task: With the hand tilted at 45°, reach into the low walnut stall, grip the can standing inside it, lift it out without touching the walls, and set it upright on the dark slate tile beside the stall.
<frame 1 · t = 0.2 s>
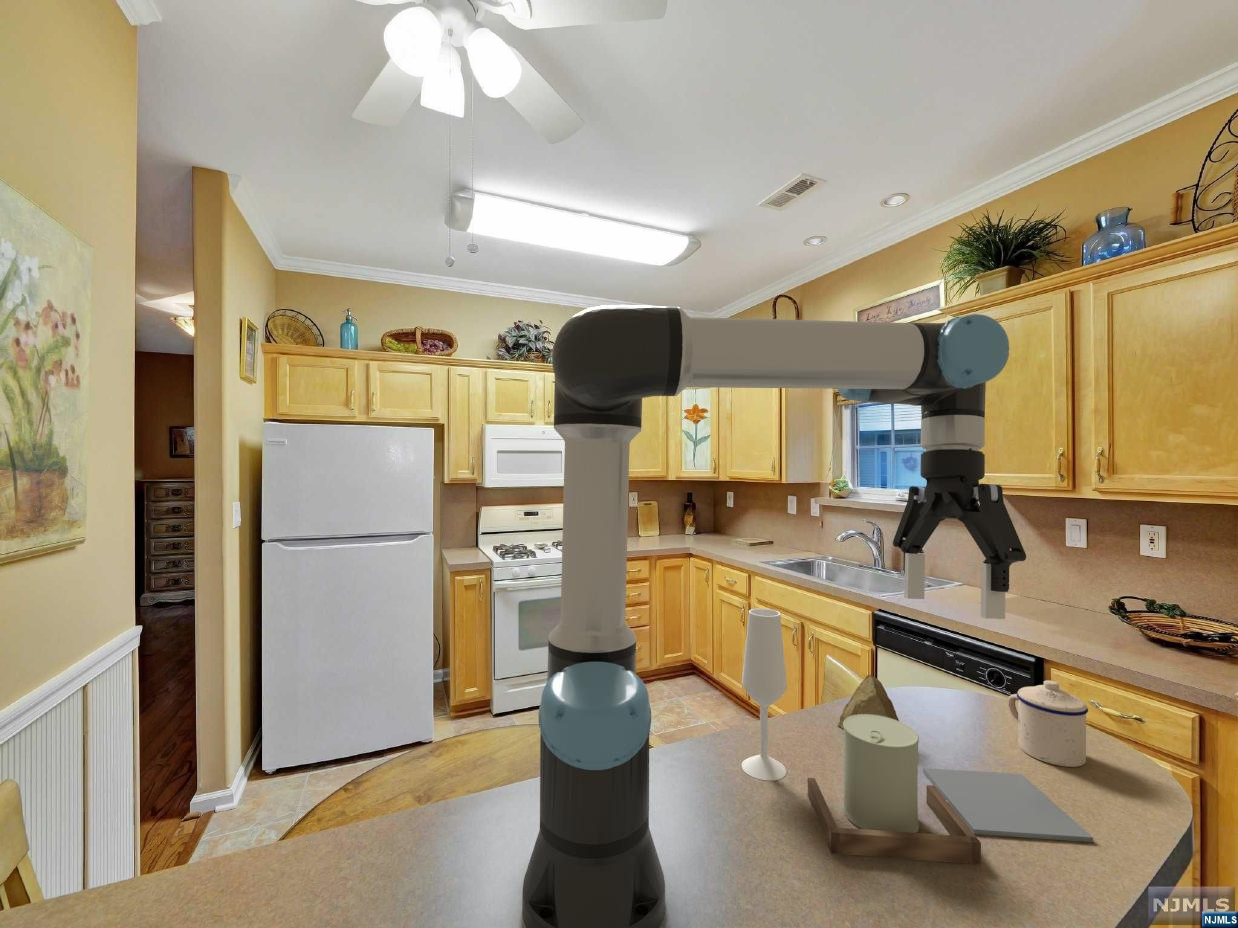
hand: (950, 607, 73), 28 cm above the kitchen counter, tool pointing down, fingers open, 13 cm apart
slate tile: (999, 803, 75), on the kitchen counter
walnut stall: (879, 815, 72), on the kitchen counter
champagne flute: (763, 769, 84), on the kitchen counter
can: (879, 817, 72), on the kitchen counter
rock: (870, 740, 93), on the kitchen counter
teacup with lid: (1042, 750, 90), on the kitchen counter
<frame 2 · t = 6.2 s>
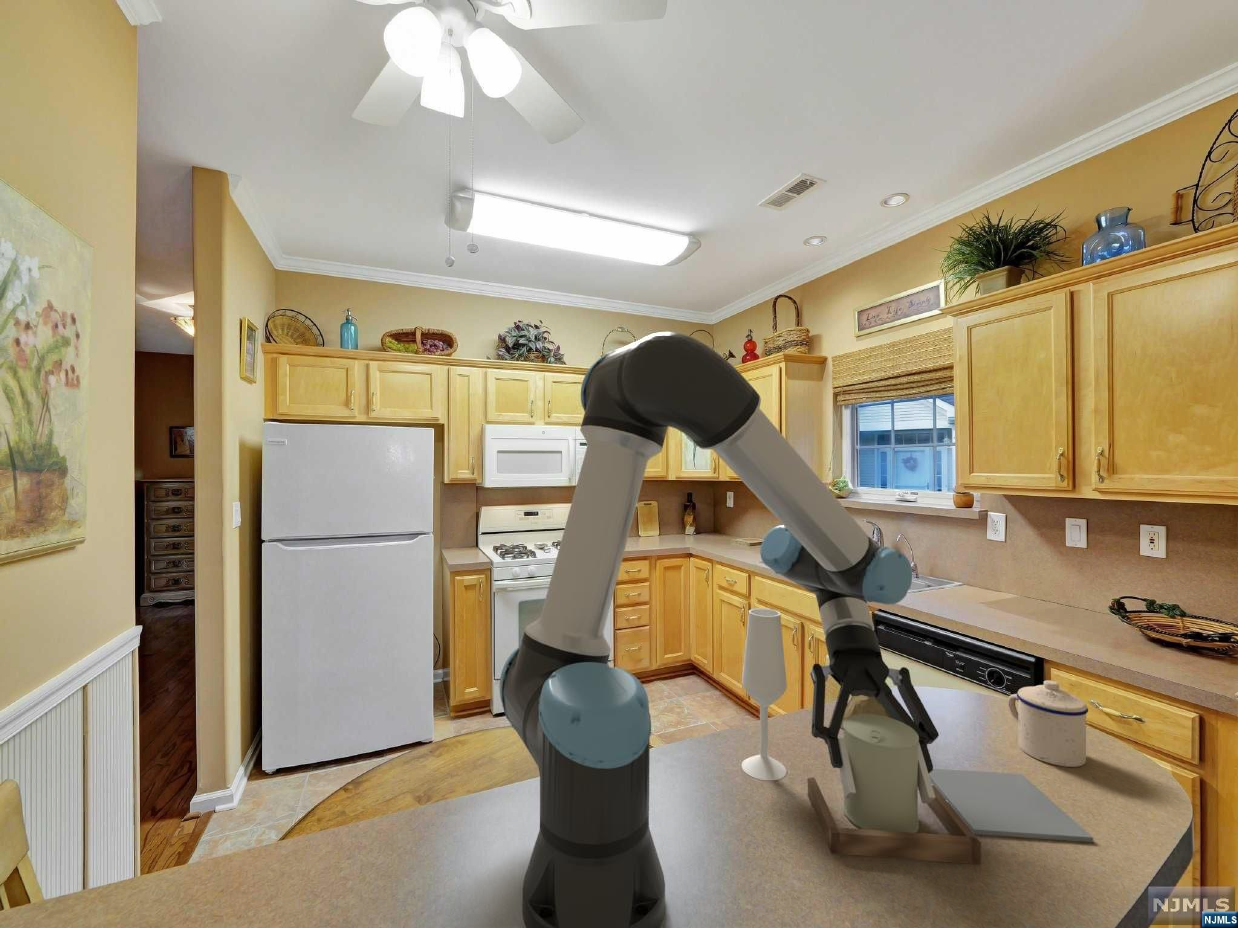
hand: (889, 797, 69), 4 cm above the kitchen counter, tool tilted 45°, fingers closed on can, 9 cm apart
can: (879, 816, 72), on the kitchen counter, touching gripper
everything else where it was.
when the fingers open (6 cm above the kitchen counter, at t = 12.3 s): can drops 1 cm, resting on slate tile.
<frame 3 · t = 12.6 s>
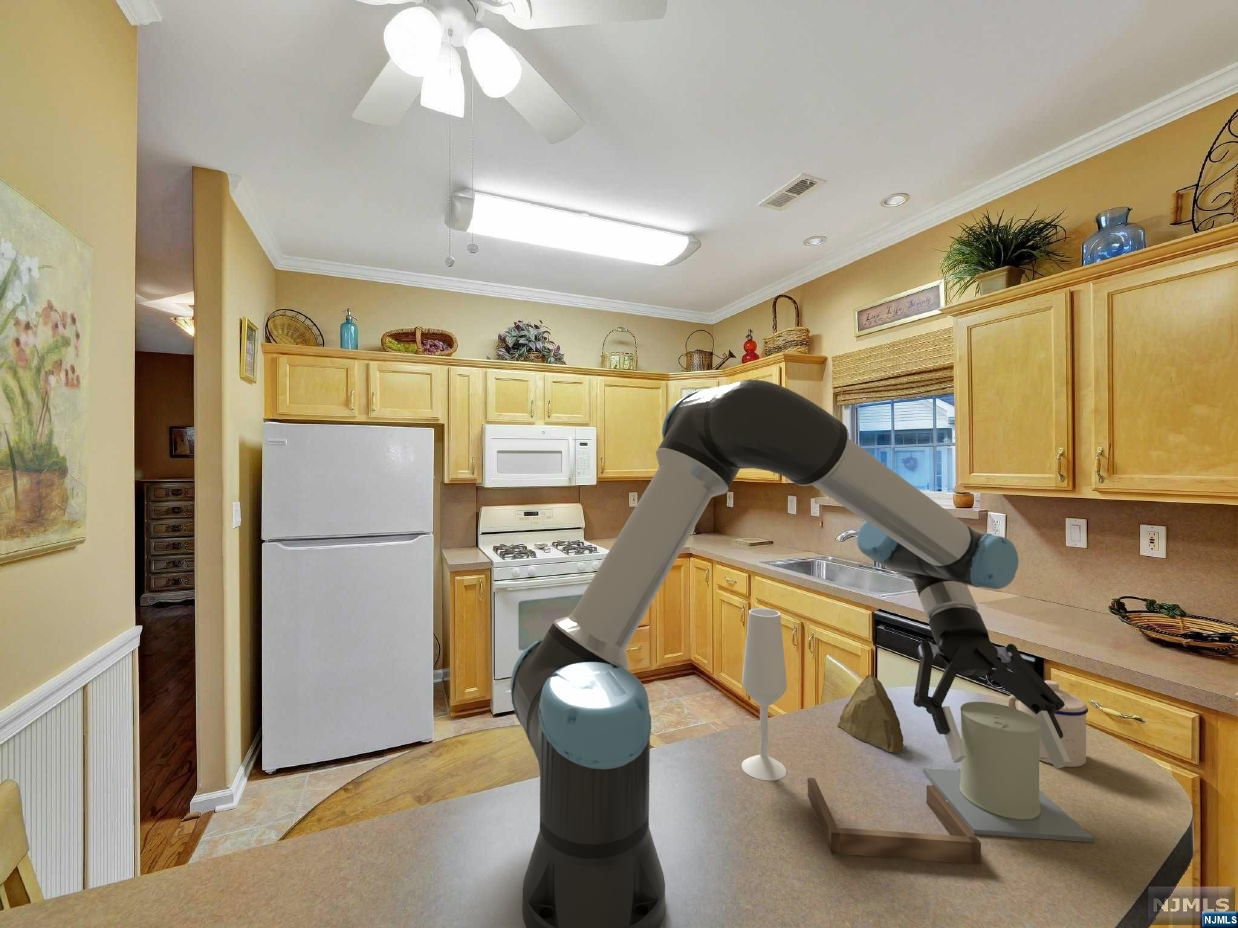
hand: (1010, 762, 73), 7 cm above the kitchen counter, tool tilted 45°, fingers open, 12 cm apart
can: (998, 800, 75), resting on slate tile
everything else where it was.
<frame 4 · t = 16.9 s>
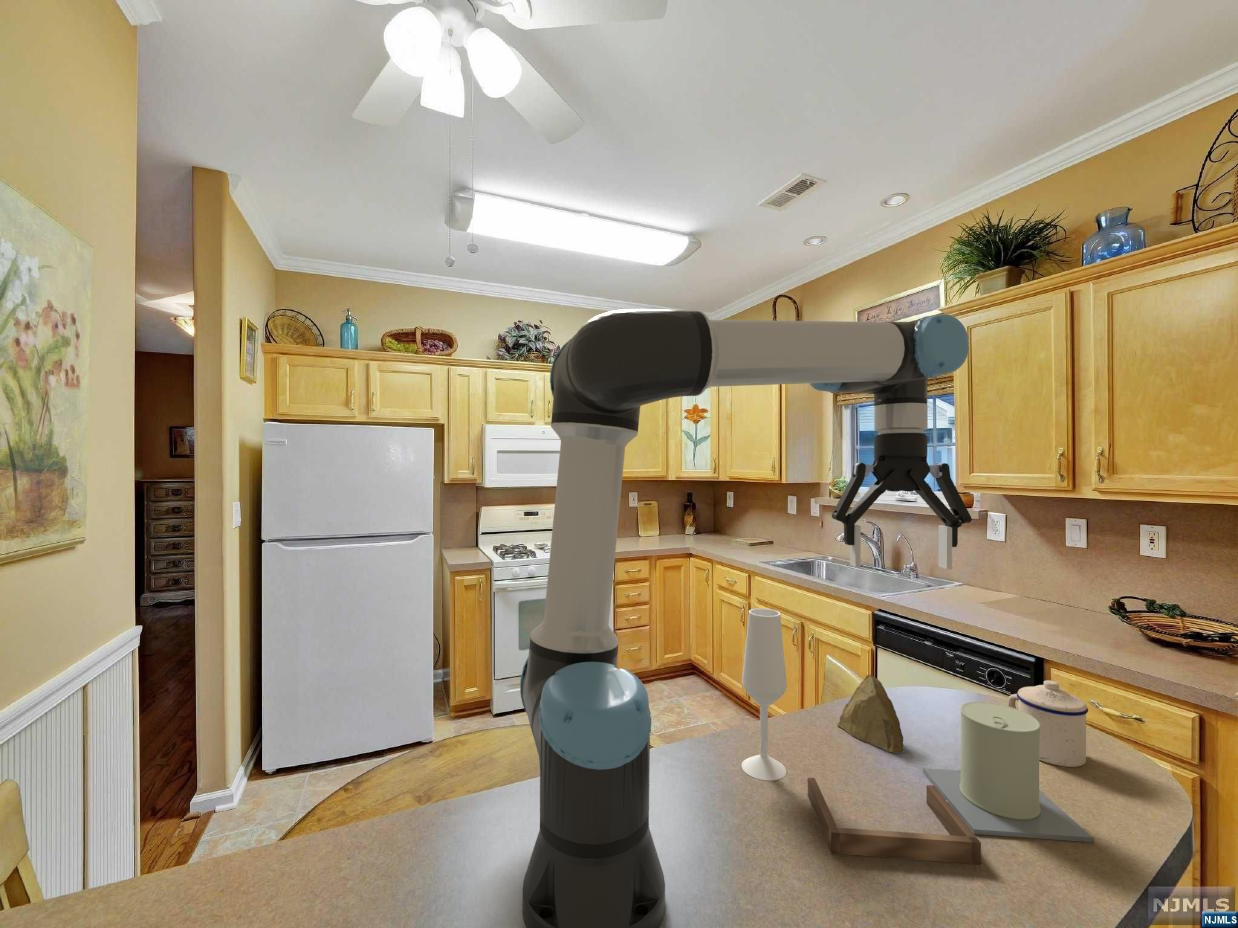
hand: (899, 567, 86), 31 cm above the kitchen counter, tool pointing down, fingers open, 13 cm apart
nothing on the kitchen counter moved.
at the end: can inside the target area on the slate tile (0.1 cm from its centre), point 0.4 cm above the slate tile's base; can tilted 0°; the gripper is holding nothing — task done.
